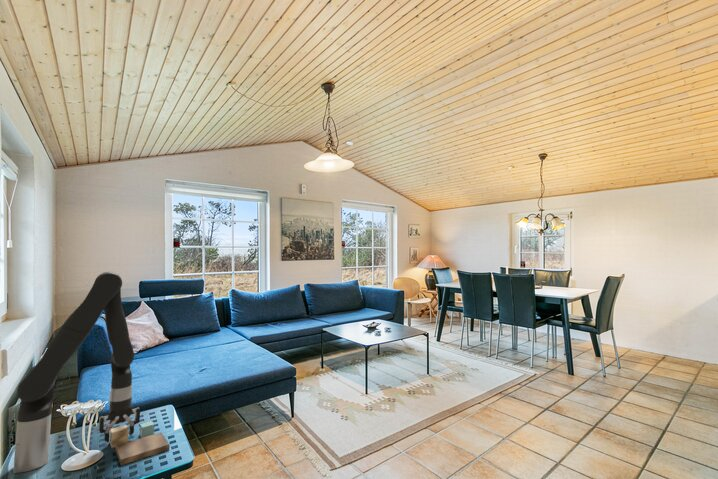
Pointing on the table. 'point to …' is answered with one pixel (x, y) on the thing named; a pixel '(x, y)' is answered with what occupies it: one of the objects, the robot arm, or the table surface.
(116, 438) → the oak block
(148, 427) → the teal block
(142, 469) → the table surface
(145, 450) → the walnut board
